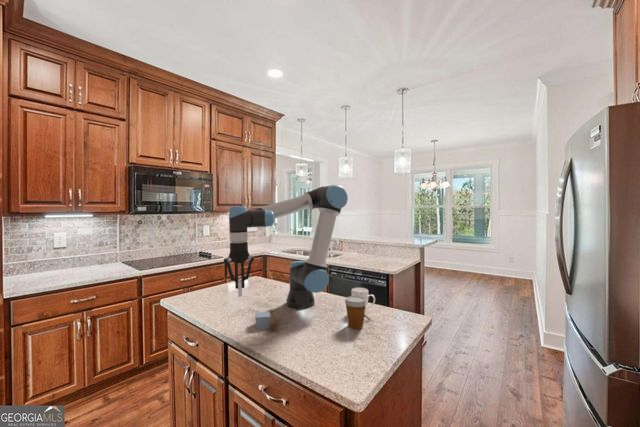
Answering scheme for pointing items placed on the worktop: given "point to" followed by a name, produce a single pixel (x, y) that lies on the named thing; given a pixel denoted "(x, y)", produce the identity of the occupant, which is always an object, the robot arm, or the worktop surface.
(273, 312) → the narrow bar
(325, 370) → the worktop surface
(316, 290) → the robot arm
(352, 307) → the disposable coffee cup
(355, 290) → the mug
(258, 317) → the block
